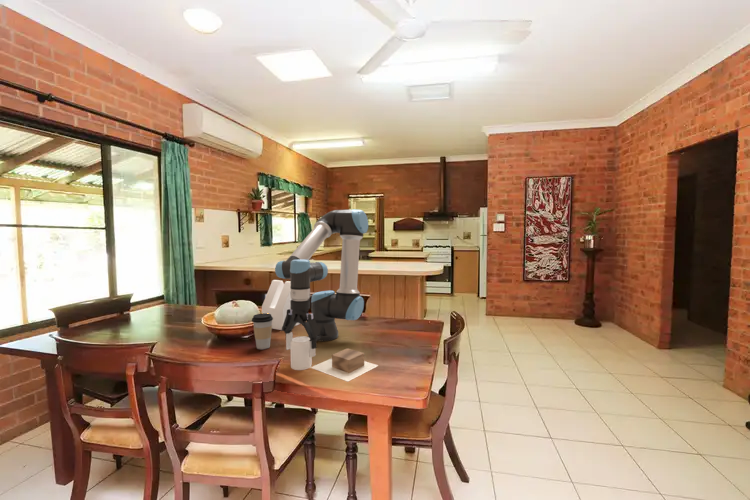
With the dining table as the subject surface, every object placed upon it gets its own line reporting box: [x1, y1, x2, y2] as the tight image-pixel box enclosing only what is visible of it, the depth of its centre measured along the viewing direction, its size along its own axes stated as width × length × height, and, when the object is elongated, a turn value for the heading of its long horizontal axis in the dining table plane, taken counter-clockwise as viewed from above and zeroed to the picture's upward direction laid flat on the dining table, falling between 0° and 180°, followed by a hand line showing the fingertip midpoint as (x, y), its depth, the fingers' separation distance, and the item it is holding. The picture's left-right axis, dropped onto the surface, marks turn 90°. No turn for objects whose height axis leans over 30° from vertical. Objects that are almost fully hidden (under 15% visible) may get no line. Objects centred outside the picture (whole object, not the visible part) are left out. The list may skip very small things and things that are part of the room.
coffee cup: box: [251, 313, 273, 350], centre depth 162 cm, size 9×9×15 cm
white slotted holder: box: [261, 279, 301, 331], centre depth 199 cm, size 19×15×25 cm
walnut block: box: [331, 347, 365, 373], centre depth 137 cm, size 9×9×5 cm
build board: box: [309, 357, 379, 382], centre depth 137 cm, size 20×18×1 cm
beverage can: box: [290, 335, 313, 371], centre depth 137 cm, size 8×8×12 cm
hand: (300, 352), depth 137 cm, fingers open, 13 cm apart
